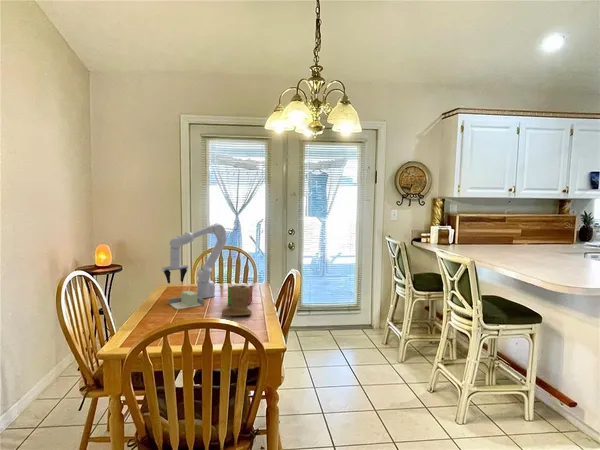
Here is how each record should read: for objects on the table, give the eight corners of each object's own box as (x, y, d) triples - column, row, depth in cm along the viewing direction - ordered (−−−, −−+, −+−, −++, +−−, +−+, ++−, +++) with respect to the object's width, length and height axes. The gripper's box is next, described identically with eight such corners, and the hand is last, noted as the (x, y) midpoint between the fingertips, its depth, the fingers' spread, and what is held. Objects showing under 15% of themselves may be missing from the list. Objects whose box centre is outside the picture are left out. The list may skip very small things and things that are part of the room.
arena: (194, 299, 221) (194, 294, 221) (203, 305, 212) (203, 299, 212) (168, 304, 212) (168, 298, 212) (176, 309, 203) (176, 304, 203)
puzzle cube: (252, 302, 219) (252, 285, 219) (242, 307, 210) (243, 289, 209) (237, 300, 224) (237, 283, 223) (227, 304, 214) (227, 286, 214)
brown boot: (250, 310, 205) (251, 282, 204) (252, 317, 193) (253, 288, 192) (221, 311, 202) (221, 283, 201) (221, 318, 190) (221, 288, 189)
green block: (197, 304, 211) (197, 293, 210) (190, 306, 207) (190, 295, 207) (188, 301, 217) (188, 290, 216) (181, 302, 213) (181, 291, 213)
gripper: (184, 256, 229) (184, 279, 230) (160, 258, 220) (160, 282, 221) (189, 258, 224) (189, 281, 225) (164, 260, 215) (164, 284, 216)
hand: (175, 282), depth 223 cm, fingers open, 7 cm apart
